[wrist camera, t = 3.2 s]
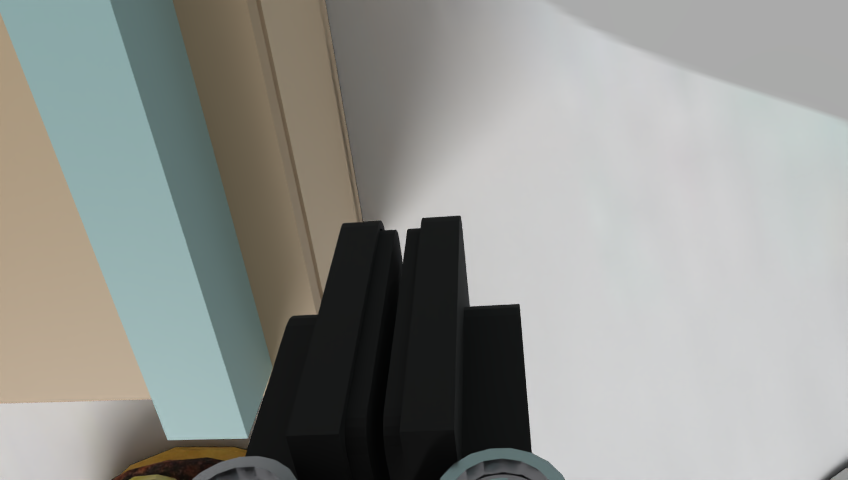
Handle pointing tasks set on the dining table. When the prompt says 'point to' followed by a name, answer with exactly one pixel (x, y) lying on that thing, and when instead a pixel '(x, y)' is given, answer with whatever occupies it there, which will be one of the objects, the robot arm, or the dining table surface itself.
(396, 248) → the robot arm
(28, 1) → the lid
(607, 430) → the dining table surface
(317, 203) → the box
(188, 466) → the food
